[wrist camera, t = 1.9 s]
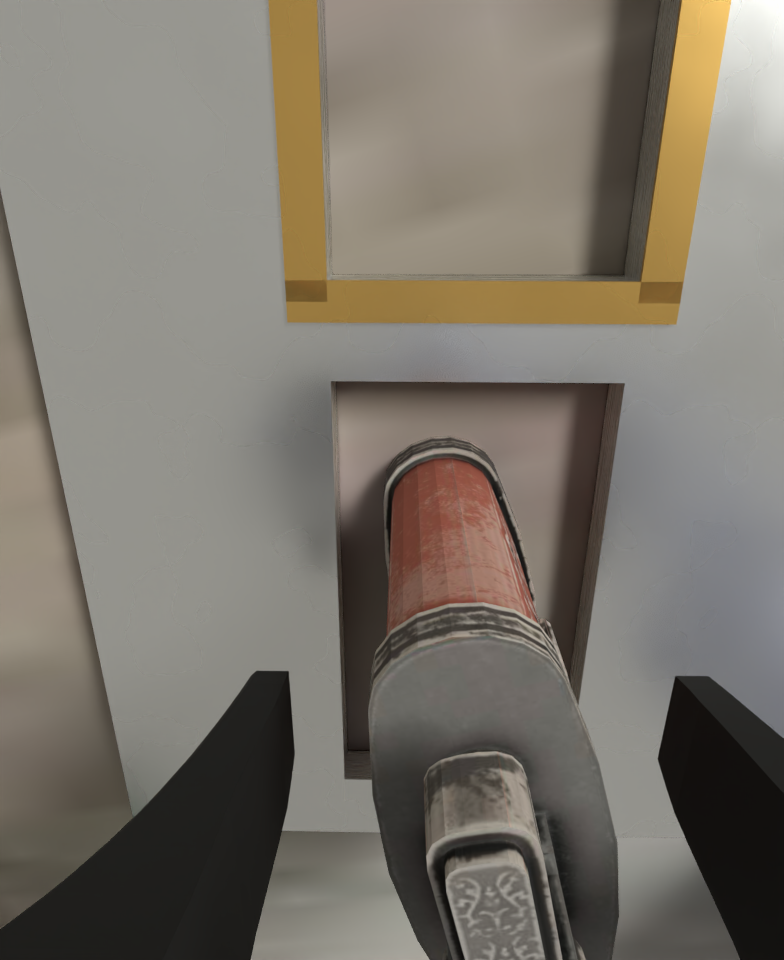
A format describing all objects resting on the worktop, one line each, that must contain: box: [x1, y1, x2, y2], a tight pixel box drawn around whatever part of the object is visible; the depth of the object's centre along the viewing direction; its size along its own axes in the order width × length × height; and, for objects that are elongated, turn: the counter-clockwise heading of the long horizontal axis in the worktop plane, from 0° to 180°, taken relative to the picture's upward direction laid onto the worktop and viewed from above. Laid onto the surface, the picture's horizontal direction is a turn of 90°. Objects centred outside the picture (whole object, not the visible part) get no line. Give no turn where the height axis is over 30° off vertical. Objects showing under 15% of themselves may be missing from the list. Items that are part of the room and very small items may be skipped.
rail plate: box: [0, 0, 784, 838], centre depth 13 cm, size 28×18×1 cm, turn 0°
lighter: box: [368, 436, 619, 960], centre depth 12 cm, size 8×3×10 cm, turn 12°
